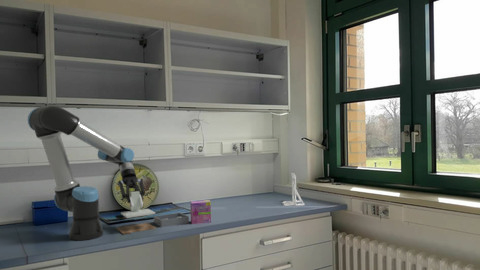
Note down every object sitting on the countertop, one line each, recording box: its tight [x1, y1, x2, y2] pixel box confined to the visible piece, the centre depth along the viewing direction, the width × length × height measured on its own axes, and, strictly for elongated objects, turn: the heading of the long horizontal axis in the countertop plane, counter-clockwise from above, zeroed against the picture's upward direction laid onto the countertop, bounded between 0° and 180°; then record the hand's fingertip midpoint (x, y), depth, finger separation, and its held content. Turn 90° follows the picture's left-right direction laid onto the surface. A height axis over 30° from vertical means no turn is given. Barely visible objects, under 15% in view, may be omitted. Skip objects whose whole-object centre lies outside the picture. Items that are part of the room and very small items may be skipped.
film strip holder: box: [282, 172, 306, 207], centre depth 254 cm, size 14×14×20 cm
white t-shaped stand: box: [120, 190, 156, 219], centre depth 196 cm, size 15×12×11 cm
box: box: [190, 199, 212, 225], centre depth 205 cm, size 10×6×12 cm, turn 105°
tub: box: [153, 212, 190, 228], centre depth 205 cm, size 15×12×4 cm
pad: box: [115, 222, 158, 235], centre depth 195 cm, size 17×14×1 cm
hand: (137, 206), depth 196 cm, fingers closed on white t-shaped stand, 4 cm apart
